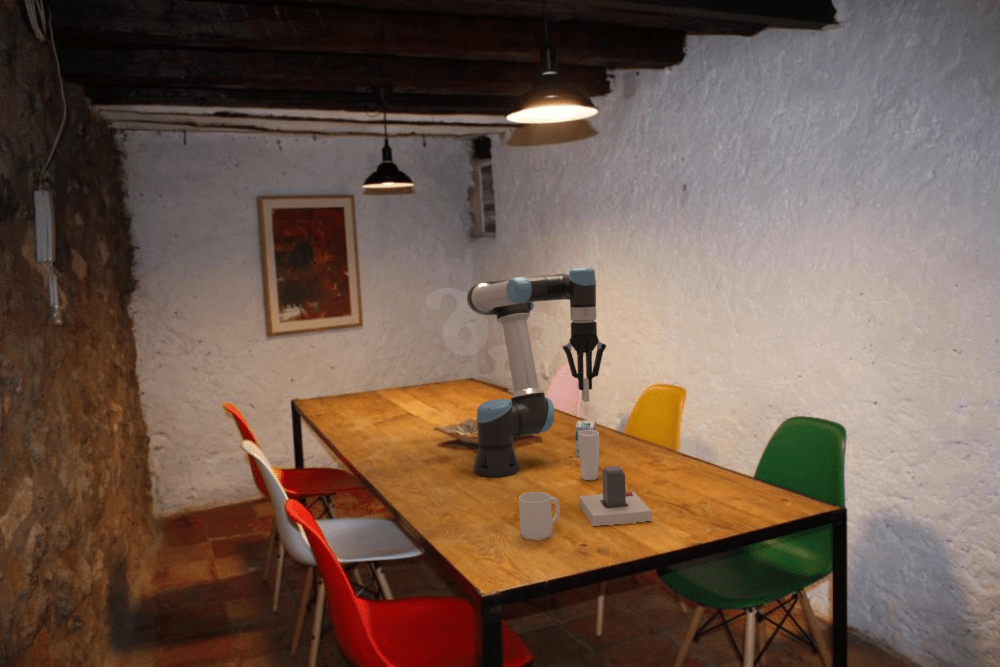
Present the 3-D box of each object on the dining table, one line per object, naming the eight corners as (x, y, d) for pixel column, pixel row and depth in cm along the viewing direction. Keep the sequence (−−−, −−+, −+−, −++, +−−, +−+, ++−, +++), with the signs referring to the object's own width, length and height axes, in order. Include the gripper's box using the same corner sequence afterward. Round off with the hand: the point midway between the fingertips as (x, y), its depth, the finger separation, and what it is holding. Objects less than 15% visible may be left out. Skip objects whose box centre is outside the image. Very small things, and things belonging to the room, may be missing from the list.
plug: (608, 517, 203) (606, 471, 202) (603, 511, 208) (602, 466, 207) (625, 516, 204) (624, 470, 203) (620, 510, 209) (619, 464, 207)
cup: (514, 533, 195) (512, 496, 194) (550, 522, 201) (549, 486, 200) (532, 543, 188) (531, 504, 187) (569, 531, 195) (568, 494, 193)
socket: (593, 526, 197) (593, 513, 197) (579, 506, 213) (579, 493, 213) (651, 521, 199) (651, 508, 199) (633, 501, 215) (633, 489, 215)
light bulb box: (594, 457, 261) (594, 427, 260) (575, 456, 263) (574, 427, 261) (597, 449, 272) (596, 420, 270) (578, 448, 273) (577, 419, 272)
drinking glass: (602, 475, 240) (601, 430, 238) (598, 482, 234) (597, 435, 232) (581, 474, 242) (580, 429, 240) (577, 481, 236) (575, 434, 234)
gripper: (564, 323, 213) (566, 404, 216) (608, 321, 215) (610, 401, 217) (558, 321, 220) (561, 399, 223) (602, 318, 222) (603, 396, 225)
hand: (585, 400), depth 220 cm, fingers closed
